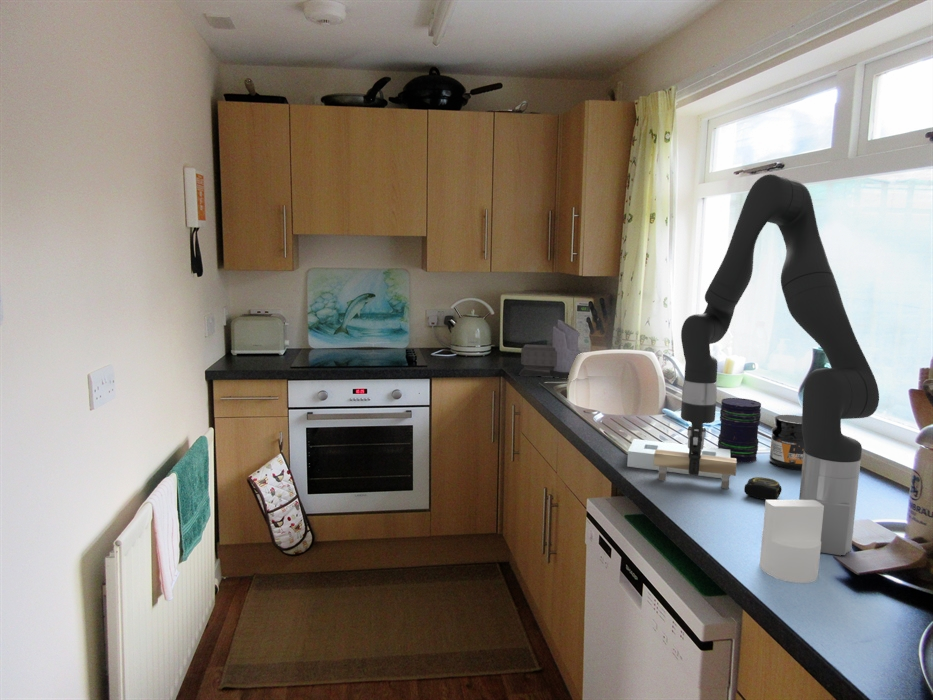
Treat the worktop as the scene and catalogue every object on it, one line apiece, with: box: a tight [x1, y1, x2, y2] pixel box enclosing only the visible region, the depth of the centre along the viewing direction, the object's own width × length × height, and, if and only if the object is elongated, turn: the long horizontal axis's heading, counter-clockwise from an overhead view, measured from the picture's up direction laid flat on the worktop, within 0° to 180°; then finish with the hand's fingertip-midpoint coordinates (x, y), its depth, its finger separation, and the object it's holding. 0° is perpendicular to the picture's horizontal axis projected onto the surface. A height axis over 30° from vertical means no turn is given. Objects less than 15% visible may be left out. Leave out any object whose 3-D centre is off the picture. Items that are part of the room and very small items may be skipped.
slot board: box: [626, 438, 730, 479], centre depth 170 cm, size 12×24×4 cm, turn 69°
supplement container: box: [768, 414, 804, 471], centre depth 172 cm, size 10×10×12 cm
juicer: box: [518, 319, 583, 379], centre depth 289 cm, size 30×16×24 cm, turn 79°
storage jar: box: [717, 397, 762, 464], centre depth 177 cm, size 10×10×15 cm
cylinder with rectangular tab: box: [759, 499, 824, 584], centre depth 114 cm, size 9×9×12 cm
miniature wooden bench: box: [654, 449, 738, 490], centre depth 157 cm, size 4×18×6 cm, turn 69°
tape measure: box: [743, 476, 782, 501], centre depth 149 cm, size 7×7×4 cm
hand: (693, 471), depth 157 cm, fingers closed on miniature wooden bench, 3 cm apart
